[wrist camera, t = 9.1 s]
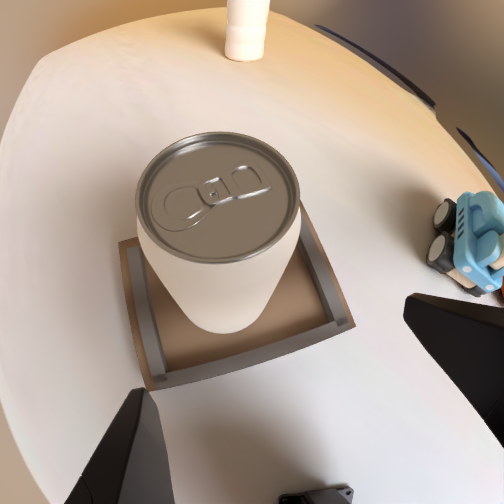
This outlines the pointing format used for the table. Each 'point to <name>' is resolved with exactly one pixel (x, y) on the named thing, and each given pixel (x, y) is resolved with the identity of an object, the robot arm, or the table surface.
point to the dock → (237, 343)
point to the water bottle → (246, 29)
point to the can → (219, 225)
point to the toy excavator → (470, 241)
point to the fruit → (502, 286)
